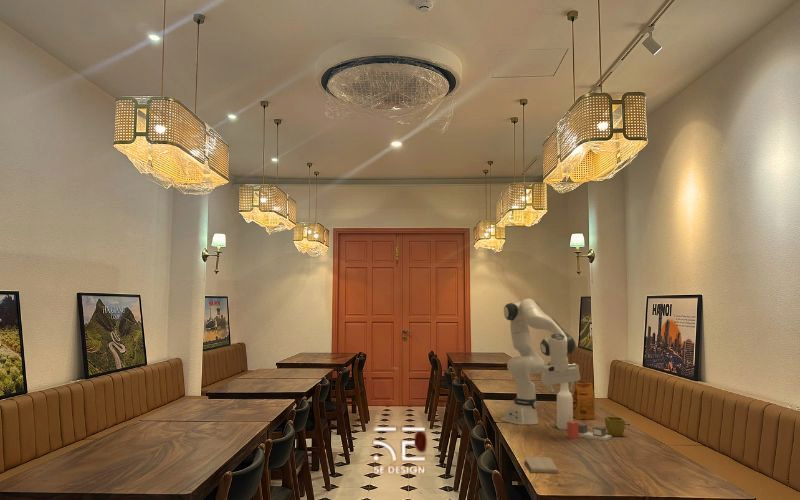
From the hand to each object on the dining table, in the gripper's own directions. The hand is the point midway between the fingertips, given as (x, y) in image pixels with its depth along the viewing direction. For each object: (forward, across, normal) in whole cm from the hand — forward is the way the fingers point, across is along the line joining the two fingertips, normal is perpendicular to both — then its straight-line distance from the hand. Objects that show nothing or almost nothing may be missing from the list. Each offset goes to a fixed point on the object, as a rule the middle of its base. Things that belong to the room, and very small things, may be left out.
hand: (561, 390), depth 294 cm
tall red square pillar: (+26, -4, +1) cm, 26 cm away
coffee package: (+36, -30, -46) cm, 66 cm away
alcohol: (+29, -8, -20) cm, 36 cm away
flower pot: (+30, -29, -3) cm, 41 cm away
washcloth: (+14, +32, +51) cm, 62 cm away
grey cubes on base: (+27, -14, -1) cm, 30 cm away
